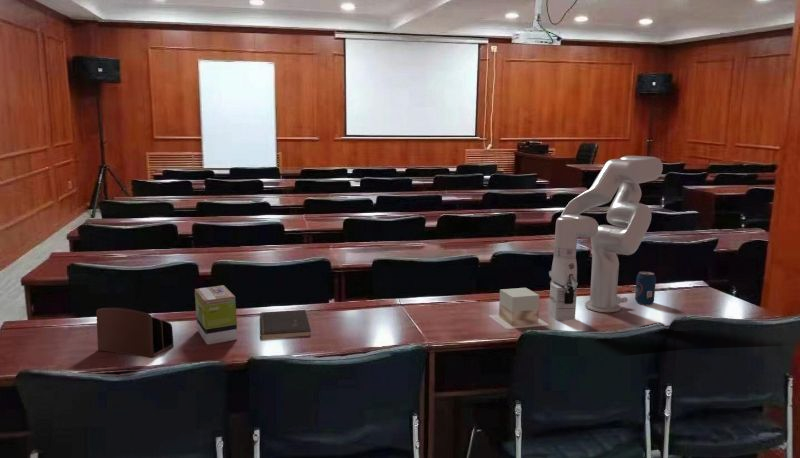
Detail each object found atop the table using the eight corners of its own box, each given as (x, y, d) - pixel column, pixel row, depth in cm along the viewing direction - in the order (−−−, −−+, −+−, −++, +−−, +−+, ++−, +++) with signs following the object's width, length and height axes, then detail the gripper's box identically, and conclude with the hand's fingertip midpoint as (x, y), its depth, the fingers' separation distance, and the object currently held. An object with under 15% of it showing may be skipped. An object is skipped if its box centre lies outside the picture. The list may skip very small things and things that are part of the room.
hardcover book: (305, 315, 223) (305, 309, 222) (311, 337, 201) (310, 330, 200) (260, 318, 219) (260, 312, 219) (260, 340, 197) (260, 333, 197)
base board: (528, 314, 224) (528, 312, 224) (549, 327, 210) (549, 325, 210) (488, 318, 220) (488, 315, 220) (506, 331, 206) (506, 328, 206)
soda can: (631, 300, 243) (633, 270, 241) (648, 300, 244) (650, 270, 242) (640, 305, 237) (642, 275, 235) (657, 305, 237) (659, 274, 235)
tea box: (196, 331, 204) (193, 287, 202) (226, 326, 209) (224, 284, 207) (206, 345, 191) (203, 299, 189) (238, 340, 196) (236, 295, 194)
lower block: (524, 314, 221) (525, 301, 220) (538, 323, 212) (538, 309, 211) (499, 316, 218) (499, 303, 217) (511, 325, 209) (512, 311, 208)
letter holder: (152, 358, 181) (149, 312, 178) (97, 351, 186) (93, 306, 184) (174, 347, 190) (171, 303, 188) (121, 340, 196) (117, 297, 193)
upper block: (525, 301, 220) (525, 287, 219) (538, 309, 211) (539, 295, 210) (499, 303, 217) (500, 289, 217) (512, 311, 208) (512, 297, 207)
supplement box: (548, 316, 223) (549, 282, 221) (568, 315, 224) (570, 281, 221) (554, 322, 216) (556, 287, 214) (575, 322, 216) (577, 287, 214)
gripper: (588, 257, 208) (584, 306, 211) (561, 247, 225) (558, 293, 227) (568, 257, 206) (564, 307, 209) (543, 248, 223) (539, 294, 225)
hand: (561, 299), depth 218 cm, fingers open, 9 cm apart
